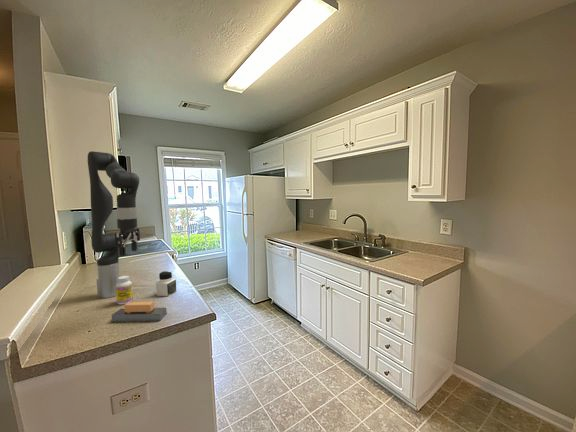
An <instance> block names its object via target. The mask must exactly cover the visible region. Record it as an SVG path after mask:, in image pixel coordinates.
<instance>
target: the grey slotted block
mask: <svg viewBox="0 0 576 432" xmlns="http://www.w3.org/2000/svg"><path fill="white" fill-rule="evenodd" d="M167 312H168V311H167V307H154V309H153V310H152V312H151V313H146V312H133V313H132V314H127V312H125V310H124V308H120V309H118V310H117V311H115V312H114V313H113V314H111V322H112V323H122V322H123V323H124V322H126V323H127V322H135V323H136V322H161V320H162V319H164V317H165V316H167V314H168V313H167Z"/></svg>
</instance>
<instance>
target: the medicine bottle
mask: <svg viewBox="0 0 576 432" xmlns="http://www.w3.org/2000/svg"><path fill="white" fill-rule="evenodd" d="M158 274H159V277H158V279H159V281H156V282H155V292H156V294H155V295H156V296H157V297H158V296H159V297H170V296H171V295H173V294H175V293H176V292H177V279H175V278H173V272H172V271H170V270H165V271H164V270H163V271H161V272H160V273H158Z"/></svg>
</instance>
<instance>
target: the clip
mask: <svg viewBox="0 0 576 432" xmlns="http://www.w3.org/2000/svg"><path fill="white" fill-rule="evenodd" d="M123 305H124V306H123V307H124V308H123V309H124V310H125V312H127V314H132V313H133V312H146V313H151V312H152V310H153V309H154V308H155V302H154V301H132V302H128V303H127V304H123Z"/></svg>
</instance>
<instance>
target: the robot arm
mask: <svg viewBox="0 0 576 432" xmlns="http://www.w3.org/2000/svg"><path fill="white" fill-rule="evenodd" d="M87 167H88V176H89V177H88V178H89V184H90V186H89V187H90V209H91V210H90V211H91V212H90V213H91V235H90V236H91V240H90V241H91V242H90V243H91V248H92V250H93V252H94V253H96V254H97V253H98V254H99V253H104V252H106V253H105V254H104V255H103V256H101V257H99V258H98V259H97V260H96V265H97V266H96V267H97V277H98V278H96V288H97V291H96V292H97V297H98V298H101V299H107V298H109V299H110V298H113V297H117V296H116V284H117V283H118V282H119V281H118V278H119V277H121V274H120V263H119V259H120V257H125V256H126V254H127V253H126V244H127V243H128V242H129V241H130V243H131V244H130V246H131V251H132V252H137V251H138V241H141V235H140V233H141V232H140V228H138V212H137V208H136V207H137V206H136V205H137V204H136V199H137V198H136V197H137V192H138V189H139V187H140V186H139V185H140V178H139V176H138V174H137V173H135V172H128V171H127V170H126V169H125V168H123V167H122V166H121V165H120V163H119V162H118V159H117V158H116V157H115V156H114V155H113V154H112V153H110V152H103V151H89V152H88V154H87ZM99 171H100V172H102V171H103V172H105V174H106V176H107V177H108V178H110V184H111V186H112V187H114V188H116V189H128V191H127V192H126V193H120V194H117V195H116V225H117V226H116V227H117V229H119V230H120V231H119V232H115V233H114V232H109V233H103V231H104V226H105V223H106V222H107V221H108V219H109V217H110V216H111V214H112V213H113V210H114V198H113V195H112V193H111V191H109V188H107V186H106V185H105V184H104V183H103V182H102V180H101V178H100V175H99Z"/></svg>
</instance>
